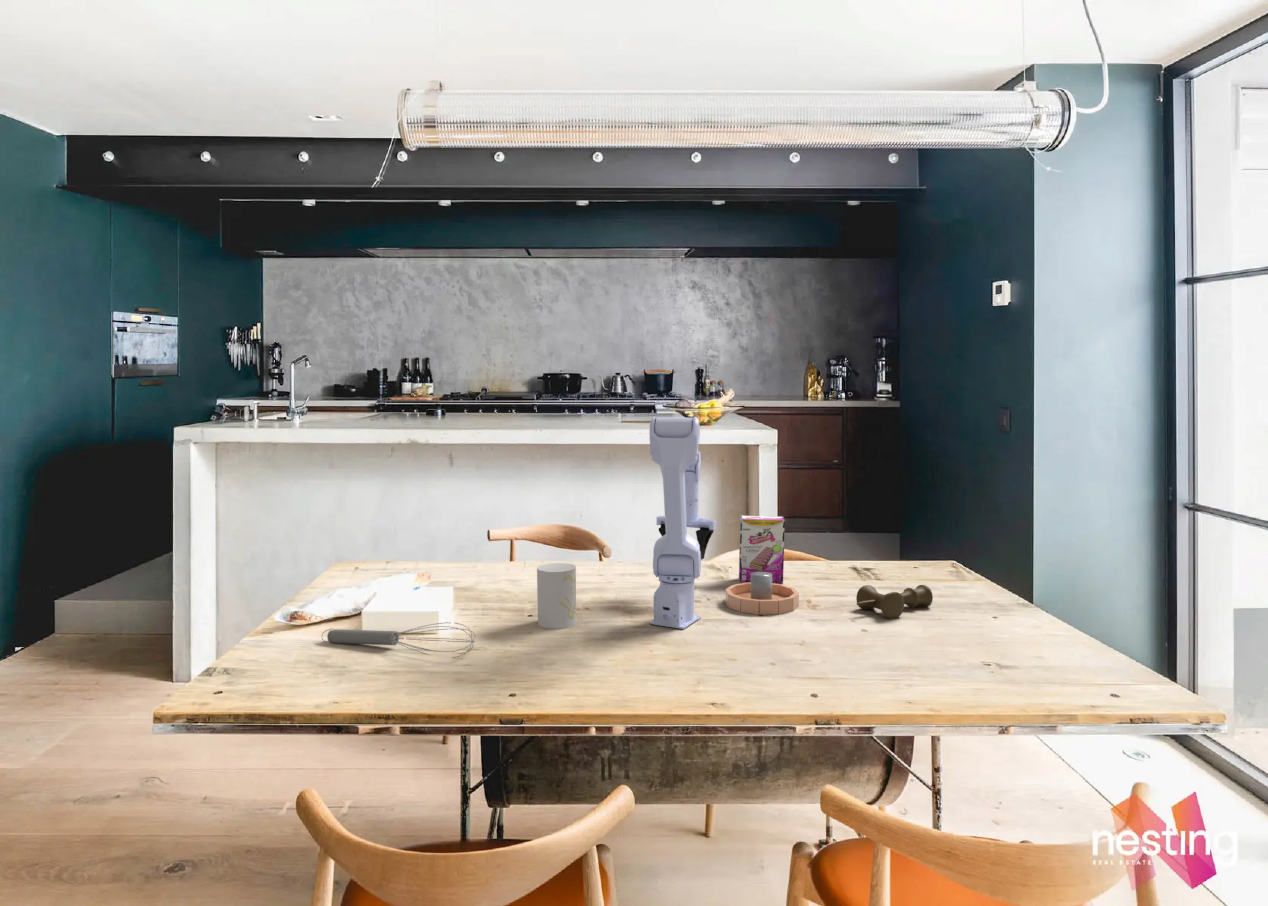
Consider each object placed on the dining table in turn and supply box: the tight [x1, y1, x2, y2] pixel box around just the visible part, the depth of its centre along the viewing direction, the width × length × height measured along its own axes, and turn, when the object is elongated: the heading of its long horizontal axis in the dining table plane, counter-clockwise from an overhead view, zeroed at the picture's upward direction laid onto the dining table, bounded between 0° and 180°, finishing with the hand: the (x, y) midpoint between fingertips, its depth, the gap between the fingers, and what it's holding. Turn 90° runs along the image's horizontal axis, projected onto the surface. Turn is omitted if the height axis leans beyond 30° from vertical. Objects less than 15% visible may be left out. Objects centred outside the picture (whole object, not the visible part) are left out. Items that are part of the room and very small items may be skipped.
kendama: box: [855, 584, 934, 620], centre depth 183 cm, size 6×10×20 cm
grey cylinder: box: [751, 572, 772, 600], centre depth 188 cm, size 5×5×6 cm
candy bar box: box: [738, 515, 786, 584], centre depth 209 cm, size 11×5×16 cm, turn 84°
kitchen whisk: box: [321, 621, 476, 658], centre depth 159 cm, size 6×34×6 cm, turn 73°
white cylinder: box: [536, 562, 577, 630], centre depth 175 cm, size 8×8×12 cm
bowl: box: [724, 582, 800, 615], centre depth 189 cm, size 16×16×3 cm
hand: (686, 557), depth 195 cm, fingers open, 7 cm apart
